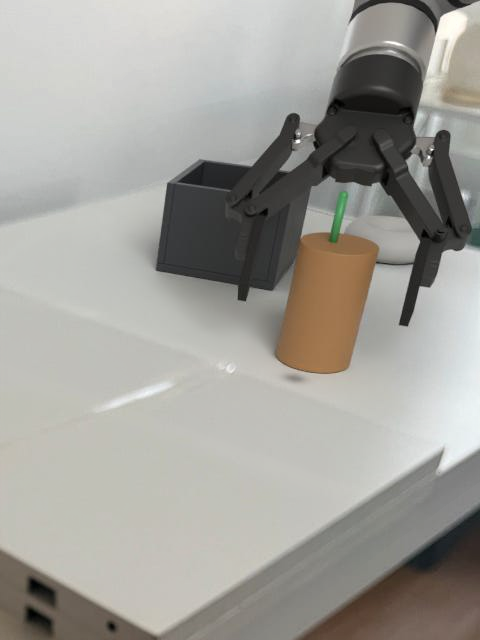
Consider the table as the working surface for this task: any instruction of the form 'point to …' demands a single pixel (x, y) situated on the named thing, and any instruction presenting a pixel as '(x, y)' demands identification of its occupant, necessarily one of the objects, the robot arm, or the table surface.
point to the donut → (387, 237)
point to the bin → (223, 228)
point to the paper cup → (326, 298)
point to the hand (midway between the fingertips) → (322, 306)
